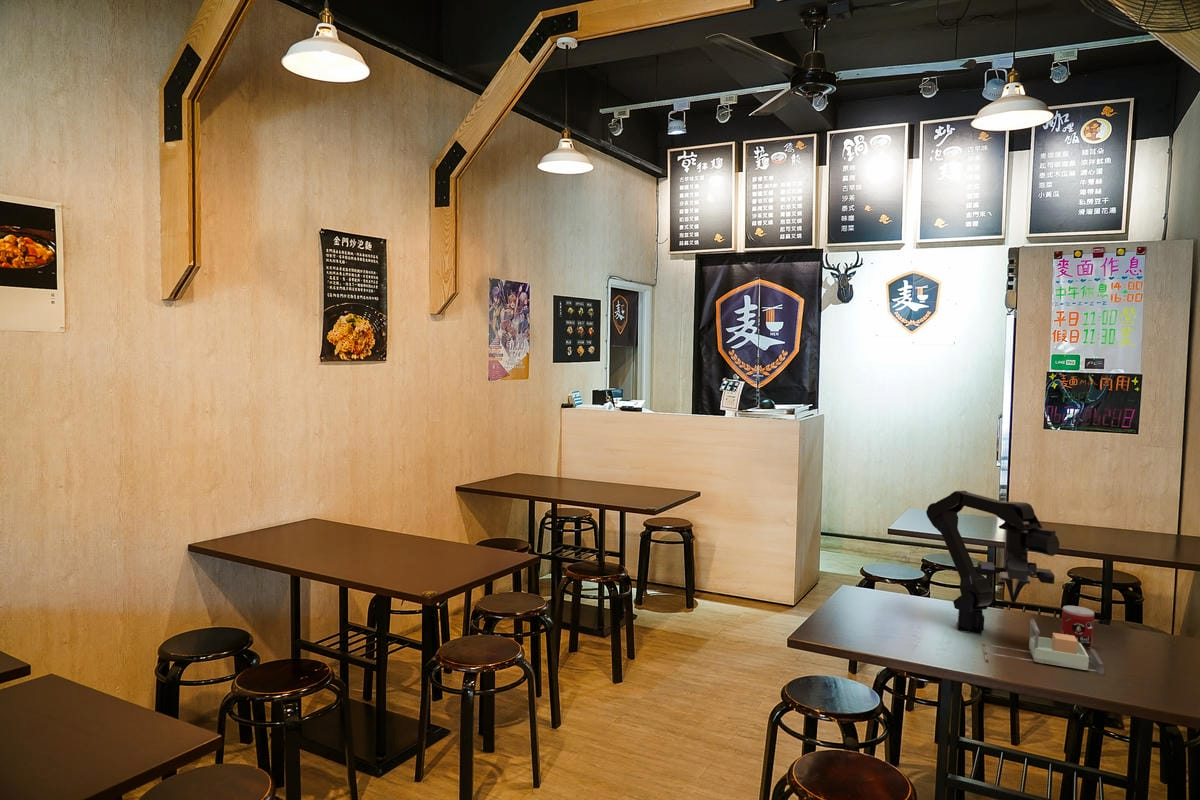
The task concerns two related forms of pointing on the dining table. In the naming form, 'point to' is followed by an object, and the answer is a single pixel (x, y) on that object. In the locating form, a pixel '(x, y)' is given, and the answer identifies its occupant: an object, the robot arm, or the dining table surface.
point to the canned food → (1078, 624)
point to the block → (1064, 643)
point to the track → (1092, 656)
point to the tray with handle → (1055, 652)
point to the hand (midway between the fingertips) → (1012, 602)
